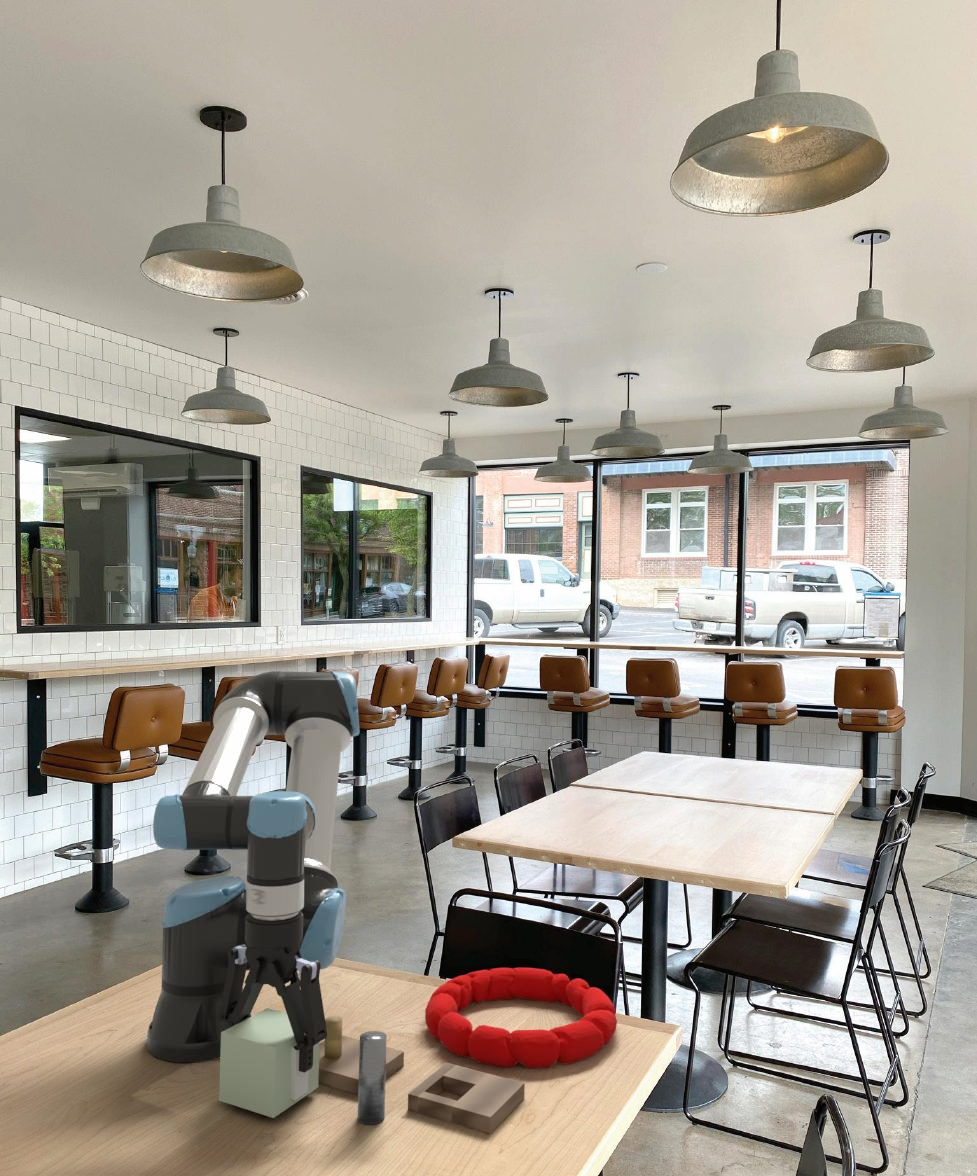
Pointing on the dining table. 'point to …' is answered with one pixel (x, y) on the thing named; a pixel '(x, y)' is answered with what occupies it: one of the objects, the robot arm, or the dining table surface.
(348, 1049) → the board
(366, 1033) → the peg
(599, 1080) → the dining table surface
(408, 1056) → the dining table surface
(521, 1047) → the decorative ring
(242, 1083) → the pale green cube
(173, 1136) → the dining table surface
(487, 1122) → the square hole block
